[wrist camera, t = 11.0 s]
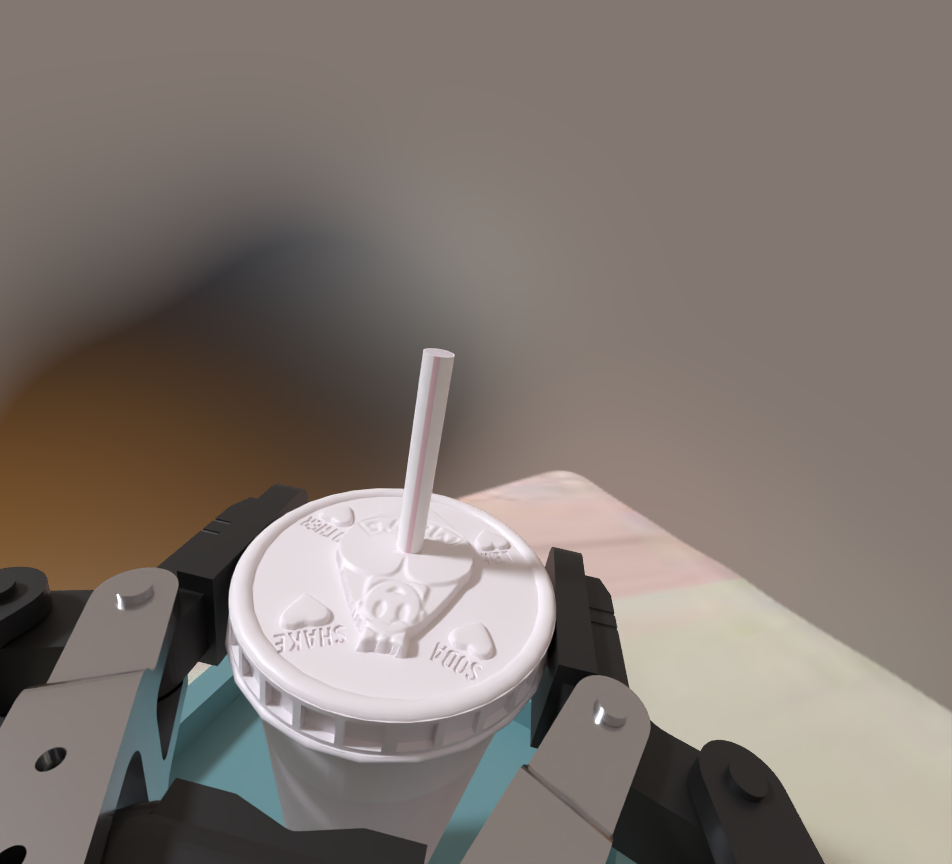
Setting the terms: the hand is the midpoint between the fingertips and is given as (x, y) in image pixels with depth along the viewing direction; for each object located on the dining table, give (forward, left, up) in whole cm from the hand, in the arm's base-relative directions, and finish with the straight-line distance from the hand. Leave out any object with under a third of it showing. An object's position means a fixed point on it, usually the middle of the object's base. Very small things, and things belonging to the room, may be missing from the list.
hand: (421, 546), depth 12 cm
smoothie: (+1, -2, -9) cm, 9 cm away
